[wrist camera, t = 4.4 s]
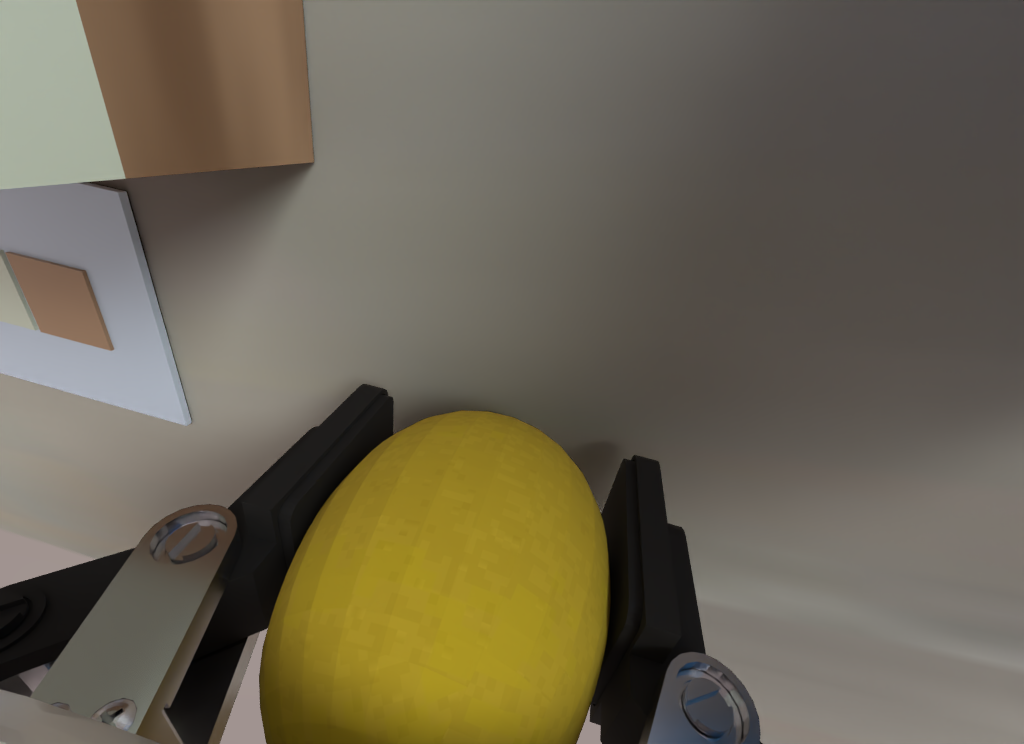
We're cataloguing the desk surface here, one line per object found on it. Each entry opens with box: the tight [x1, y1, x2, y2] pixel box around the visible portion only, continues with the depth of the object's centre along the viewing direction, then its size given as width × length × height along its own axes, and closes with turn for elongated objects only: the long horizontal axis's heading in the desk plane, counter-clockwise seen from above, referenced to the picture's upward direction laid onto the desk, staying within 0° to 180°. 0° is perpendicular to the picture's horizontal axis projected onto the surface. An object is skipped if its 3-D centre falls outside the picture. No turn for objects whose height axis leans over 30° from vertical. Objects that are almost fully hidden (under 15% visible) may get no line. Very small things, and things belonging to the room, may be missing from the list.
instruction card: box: [0, 182, 192, 426], centre depth 12 cm, size 10×7×1 cm
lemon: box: [259, 410, 611, 744], centre depth 8 cm, size 6×6×8 cm
